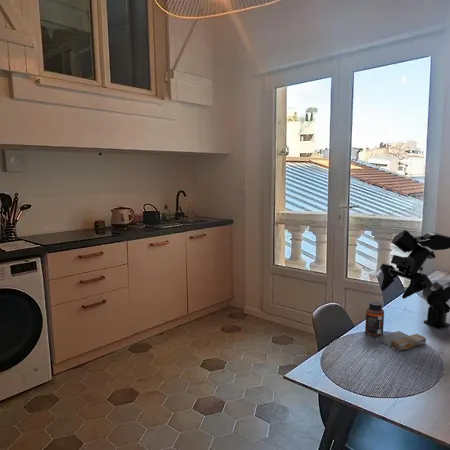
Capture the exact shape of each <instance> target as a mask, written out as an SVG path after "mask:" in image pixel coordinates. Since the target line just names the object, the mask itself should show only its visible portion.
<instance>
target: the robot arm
mask: <svg viewBox="0 0 450 450" xmlns="http://www.w3.org/2000/svg"><path fill="white" fill-rule="evenodd" d="M391 244H393V245H394V246H395V247H396V248H397V249H399V250H400V251H402V252H403V253H409V254H408V255H407V256H400V255H396V254H393V255H392V258H391V261H390V264H389V263H382V264H381V265H380V266H379V269H380V270H381V273H382V275H383V279H382V282H381V283H382V284H381V288H380V289H381V291H382V292H384V291H386V289H388V287H389V286H390V285H392V283H393V282H394V281H395V279H396V278H397V277H401V278H404V279H407V280H410V281H409V284H408V286H407V288H406V289H405V290H404V292H403V294H402V295H401V298H402V299H407V298H408V297H411V296H412V295H415V294H417V293H420V292H422V293H421V295H422V298H423V300H424V301H425V302H426V303H427V305H429V306H428V308H427V318H426V319H425V320H423V323H424V324H427V325H429V326H432V327H435V328H437V329H441V328H446V327H448V326H450V323H449V322H447V316H448V314H449V313H450V305H449V304H448V303H447V302H448V301H450V281H449V282H448V281H447V283H444V284H443V283H441V284H440V283H439V281H435V282H432V280H431V278H429V276H428V275H427V274H424V273H421V272H422V271H423V270H424V268H423V267H422V266H423V265H424V264H425V263H426V261H427V259H428V260H431V259H436V255H435V252H434V251H440V250H441V251H443V250H449V249H450V236H449V235H445V234H442V233H439V232H435V231H427V232H425V234H424V235H420V236H413V235H412V234H411V233H410V232H409V231H408V230H406V229H403V230H402V231H401V232H399V233H398V234H396V235H395V236H394V237H393V239H392V240H391ZM429 249H431V250H432V251H431V250H429ZM393 265H395V267H396V269H395V267H394V266H393Z"/></svg>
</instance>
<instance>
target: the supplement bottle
mask: <svg viewBox="0 0 450 450" xmlns="http://www.w3.org/2000/svg"><path fill="white" fill-rule="evenodd" d="M368 306H369V307H367V308H366V310H365V326H364V328H365V329H364V330H365V331H364V332H365V333H366V334H367V335H368V334H369V336H372V337H379V336H382V335H384V334H383V333H384V326H385V325H384V322H385V320H384V319H385V310H384V309H383V308H382V302H380V301H375V300H374V301H370V302H369V304H368Z"/></svg>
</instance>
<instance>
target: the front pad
mask: <svg viewBox="0 0 450 450" xmlns="http://www.w3.org/2000/svg"><path fill="white" fill-rule="evenodd" d="M406 336H410V335H408V334H407V333H404V332H402V331H400V330H398V331H394V332H390V333H386V334H382V335H381V336H374V338H376V339H378V340H379V341H378V340H377V341H378V342H380V341H381V342H380V343H382V342H383V343H382V344H384V343H385V344H384V345H386V344H387V345H386V346H388V345H389V346H388V347H390V346H391V341H392V340H396V339H399V338H403V337H406ZM376 339H375V340H376Z"/></svg>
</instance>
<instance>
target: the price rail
mask: <svg viewBox="0 0 450 450" xmlns="http://www.w3.org/2000/svg"><path fill="white" fill-rule="evenodd" d="M426 342H427V337H424V336H422V335H420V334H418V333H414V334H410V335H409V336H406V337H403V338H399V339H396V340H392V341H391V347H390V348H392V347H393V348H392V349H394V348H395V349H394V350H396V349H397V350H396V351H398V350H399V351H398V352H401V351H404V350H408V349H411V348H414V347H418V346H421V345H424V344H426Z"/></svg>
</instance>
